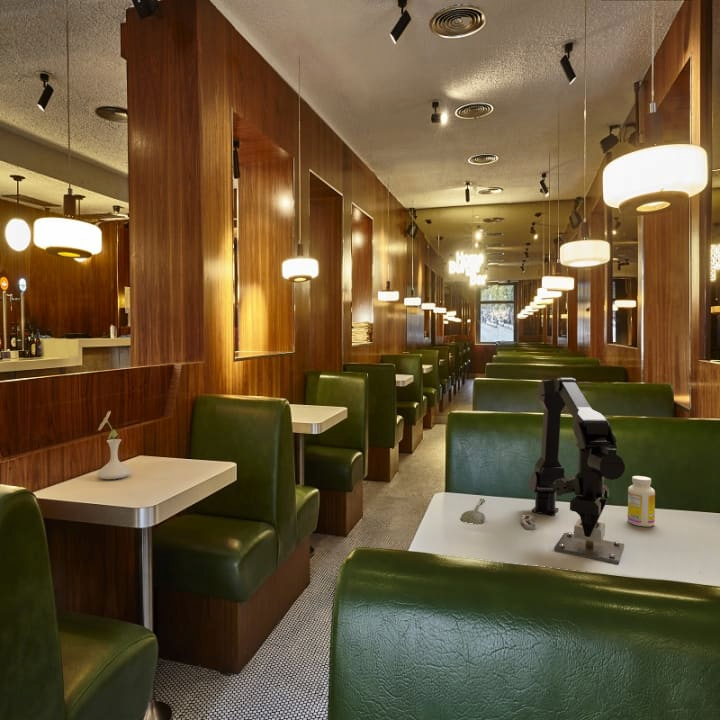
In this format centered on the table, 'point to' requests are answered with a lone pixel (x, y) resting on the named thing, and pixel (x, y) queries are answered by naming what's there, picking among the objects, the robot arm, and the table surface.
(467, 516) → the soupspoon
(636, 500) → the supplement bottle
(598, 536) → the end link
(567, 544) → the keeper plate
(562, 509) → the table surface
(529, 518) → the chain tail
